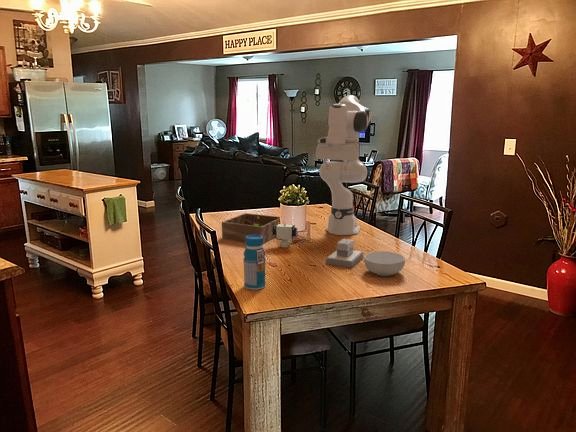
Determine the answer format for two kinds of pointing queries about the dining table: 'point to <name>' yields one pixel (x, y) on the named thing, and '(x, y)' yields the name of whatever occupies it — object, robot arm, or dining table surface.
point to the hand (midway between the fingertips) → (336, 169)
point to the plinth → (344, 259)
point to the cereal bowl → (384, 262)
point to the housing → (345, 248)
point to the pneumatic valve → (285, 233)
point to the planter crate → (249, 227)
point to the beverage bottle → (254, 263)
